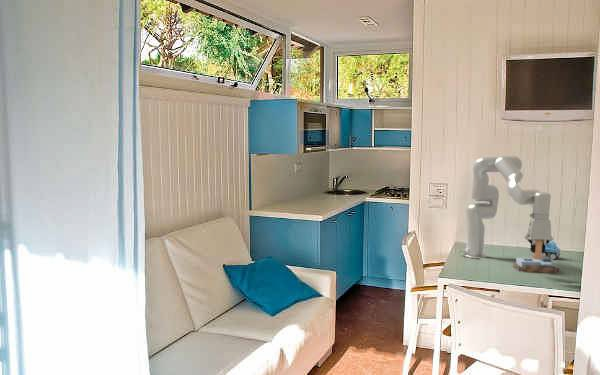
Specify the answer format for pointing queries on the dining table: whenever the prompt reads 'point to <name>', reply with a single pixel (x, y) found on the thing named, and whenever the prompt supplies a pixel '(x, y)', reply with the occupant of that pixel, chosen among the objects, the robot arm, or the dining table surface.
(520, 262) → the pale blue peg socket
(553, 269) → the cradle
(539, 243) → the tail peg
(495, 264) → the dining table surface
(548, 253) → the toy excavator
